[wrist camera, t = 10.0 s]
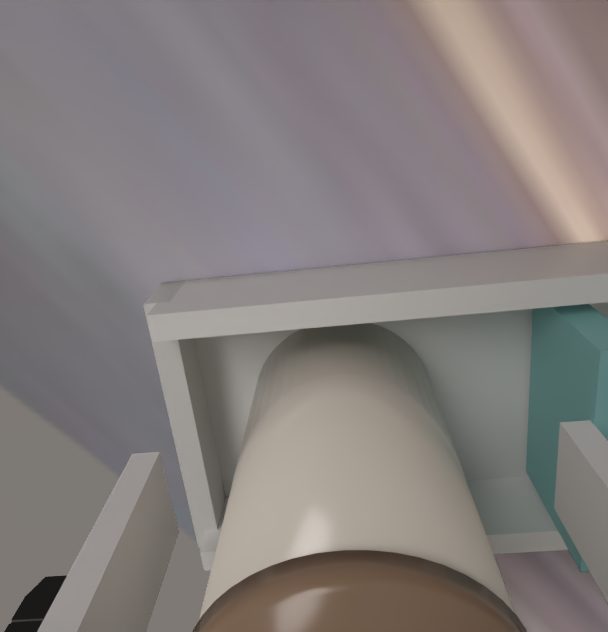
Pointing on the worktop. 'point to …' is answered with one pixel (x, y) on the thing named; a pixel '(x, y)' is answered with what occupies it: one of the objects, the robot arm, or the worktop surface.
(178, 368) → the lane
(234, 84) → the worktop surface
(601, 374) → the pusher
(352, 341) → the jar
